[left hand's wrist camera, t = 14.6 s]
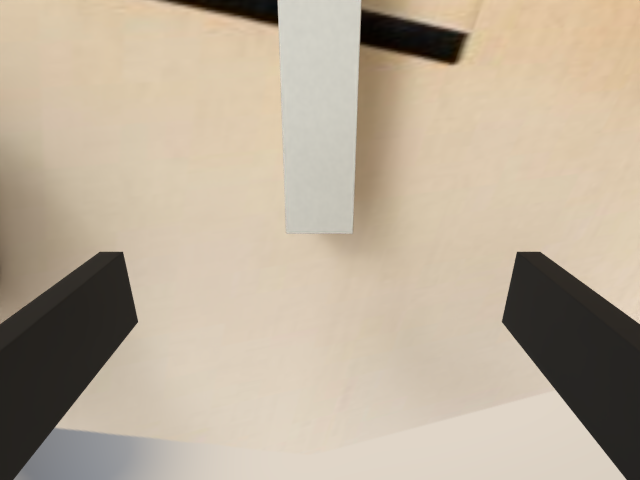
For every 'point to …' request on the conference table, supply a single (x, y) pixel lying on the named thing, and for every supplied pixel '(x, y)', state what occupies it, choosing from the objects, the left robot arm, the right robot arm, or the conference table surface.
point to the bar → (319, 112)
